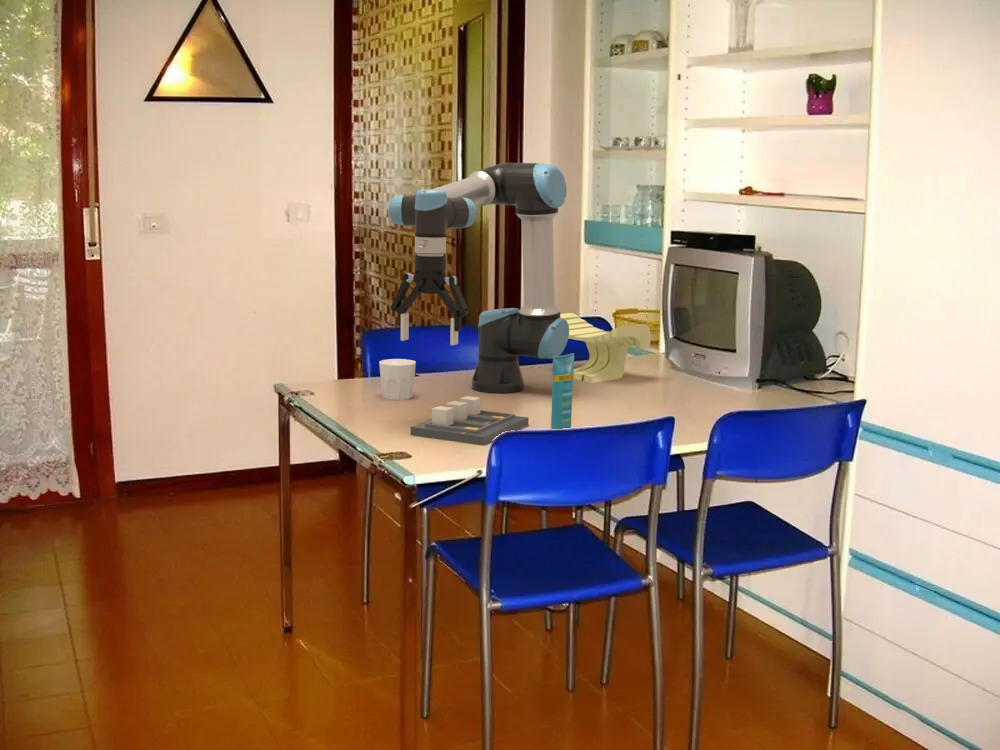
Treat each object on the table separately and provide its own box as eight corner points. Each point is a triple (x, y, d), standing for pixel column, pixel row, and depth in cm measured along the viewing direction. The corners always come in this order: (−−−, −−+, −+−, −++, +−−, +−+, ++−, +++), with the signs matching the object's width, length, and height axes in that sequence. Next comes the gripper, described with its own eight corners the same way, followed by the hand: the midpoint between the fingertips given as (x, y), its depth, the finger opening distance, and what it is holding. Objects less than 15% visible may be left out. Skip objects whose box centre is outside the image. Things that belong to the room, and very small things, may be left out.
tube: (559, 435, 285) (561, 357, 281) (544, 432, 288) (546, 355, 284) (578, 430, 290) (580, 354, 287) (562, 427, 293) (564, 351, 290)
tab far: (459, 414, 296) (459, 398, 295) (466, 411, 299) (466, 396, 298) (473, 415, 294) (473, 400, 293) (480, 413, 297) (480, 397, 297)
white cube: (431, 424, 284) (431, 408, 283) (439, 422, 287) (439, 406, 286) (446, 426, 282) (446, 410, 281) (453, 424, 285) (453, 407, 284)
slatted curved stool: (648, 381, 356) (651, 322, 353) (614, 387, 345) (616, 327, 342) (575, 367, 378) (577, 312, 374) (541, 372, 367) (542, 316, 363)
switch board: (410, 434, 283) (410, 423, 282) (458, 416, 304) (458, 405, 304) (484, 445, 274) (484, 433, 274) (528, 425, 295) (528, 414, 295)
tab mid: (445, 419, 290) (446, 403, 289) (453, 416, 293) (453, 400, 292) (460, 421, 288) (460, 405, 287) (467, 418, 291) (467, 402, 290)
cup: (421, 399, 324) (422, 363, 323) (388, 402, 319) (389, 366, 317) (405, 392, 333) (405, 357, 331) (373, 395, 328) (373, 360, 326)
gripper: (377, 252, 284) (376, 339, 287) (470, 258, 273) (468, 348, 277) (392, 251, 290) (391, 336, 294) (484, 256, 280) (482, 344, 284)
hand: (429, 342), depth 286 cm, fingers open, 13 cm apart
